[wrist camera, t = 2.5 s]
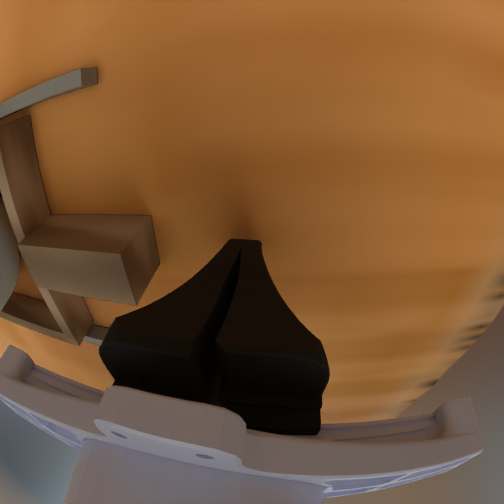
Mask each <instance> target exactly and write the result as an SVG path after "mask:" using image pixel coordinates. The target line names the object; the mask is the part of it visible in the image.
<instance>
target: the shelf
mask: <svg viewBox="0 0 504 504" xmlns="http://www.w3.org/2000/svg"><path fill="white" fill-rule="evenodd" d="M95 84H98V82H97V67H95V68H82V69H78V70H75V71H72V72H69V73H67V74H64V75H61V76H59V77H56V78H54V79H51V80H49V81H46V82H44V83H42V84H39V85H37V86H35V87H33V88H30V89H28V90H26V91H24V92H22V93H20V94H18V95H16V96H14V97H12V98H10V99H8V100H6V101H5V102H3V103H1V104H0V119H2V118H5V117H7V116H9V115H11V114H13V113H15V112H18V111H20V110H22V109H24V108H27V107H29V106H32V105H34V104H37V103H39V102H42V101H45V100H47V99H50V98H53V97H56V96H58V95H61V94H64V93H67V92H71V91H74V90H77V89H80V88H84V87H87V86H91V85H95ZM108 330H109V328H104V327H100V326H95V325H91V327H90V328H89V330H88V332H87V334H86V335H85V337H84V339H83V341H85V342H89V343H92V344H96V345H100V346H101V344H102V342H103V340H104V338H105V336H106V334H107V332H108Z"/></svg>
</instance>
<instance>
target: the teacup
mask: <svg viewBox="0 0 504 504" xmlns="http://www.w3.org/2000/svg"><path fill="white" fill-rule="evenodd" d="M19 271H20V257H19V250H18V242H17V239H16V236H15V234H14V231H13V228H12V225H11V223H10V220H9V217H8V214H7V211H6V208H5V204H4V202H3V200H2V199H1V197H0V312H1V310H2V309H3V307H4V306H5V304H6V302H7V301H8V299H9V297H10V296H11V294H12V292H13V290H14V288H15V286H16V284H17V281H18V277H19Z"/></svg>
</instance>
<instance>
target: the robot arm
mask: <svg viewBox="0 0 504 504" xmlns="http://www.w3.org/2000/svg"><path fill="white" fill-rule="evenodd" d="M261 247H262V243H261V242H260V241H258V240H243V239H230V240H229V241H228V242H227V243H226V244H225V245H224V246H223V248H222V249H221V250H220V251H219V252H218V253H217V254H216V255H215V256H214V257H213V258H212V259H211V260H210V261H209V262H208V264H206V265H205V266H204V267H203V268H202V269H201V270H200V271H199V272H198V273H197V274H196V275H194V276H193V277H192V278H191V279H190V280H188V281H187V282H186V283H184V284H183V285H182V286H180V287H179V288H177V289H176V290H174V291H172V292H171V293H169V294H167V295H166V296H164V297H163V298H161V299H159V300H157V301H155V302H153V303H151V304H149V305H147V306H145V307H143V308H140V309H138V310H135V311H133V312H130V313H128V314H125V315H122V316H119V317H116V319H115V320H114V322H113V323H112V325H111V326H110V328H109V330H108V332H107V334H106V336H105V338H104V340H103V342H102V344H101V346H100V347H99V354H100V357H101V359H102V361H103V363H104V364H105V366H106V367H107V369H108V370H109V372H110V373H111V375H112V376H113V378H114V379H115V381H114V383H113V386H111V387H109V388H107V389H106V390H105V391H102V390H99V389H96V388H93V387H90V386H87V385H84V384H81V383H79V382H76V381H74V380H71V379H68V378H66V377H63V376H61V375H59V374H56V373H54V372H51V371H49V370H47V369H45V368H42V367H40V366H38V365H36V364H34V362H33V360H32V359H31V358H30V356H29V355H28V354H27V353H25V352H24V351H22V350H20V349H18V348H16V347H14V346H12V345H9V346H8V348H7V349H6V351H5V352H4V354H3V356H2V357H1V359H0V399H1V400H2V401H3V402H4V403H6V404H7V405H8V406H9V407H10V408H11V409H12V410H13V411H15V412H16V413H17V414H19V415H20V416H22V417H23V418H25V419H26V420H28V421H29V422H31V423H32V424H34V425H36V426H37V427H39V428H40V429H42V430H44V431H45V432H47V433H49V434H50V435H52V436H54V437H56V438H57V439H59V440H61V441H63V442H65V443H66V444H69V445H70V446H72V447H74V448H76V449H78V450H80V454H79V456H78V459H77V462H76V465H75V468H74V471H73V474H72V477H71V480H70V483H69V487H68V490H67V493H66V496H65V500H64V503H63V504H323V498H326V497H336V496H344V495H352V494H358V493H364V492H370V491H375V490H380V489H385V488H389V487H394V486H398V485H402V484H406V483H410V482H413V481H417V480H420V479H424V478H427V477H430V476H434V475H437V474H440V473H443V472H446V471H448V470H450V469H452V468H454V467H456V466H458V465H460V464H462V463H464V462H465V461H467V460H469V459H471V458H472V457H474V456H476V455H477V454H479V453H481V452H482V451H483V446H482V441H481V436H480V432H479V428H478V424H477V420H476V416H475V413H474V409H473V405H472V402H471V399H470V397H469V396H467V397H463V398H459V399H455V400H450V401H447V402H445V403H443V404H442V405H440V406H439V407H438V408H437V409H436V410H435V412H432V413H428V414H422V415H416V416H410V417H403V418H396V419H388V420H379V421H369V422H356V423H337V424H321V416H320V408H321V407H322V394H323V392H324V390H325V388H326V385H327V383H328V381H329V376H330V372H329V366H328V361H327V357H326V354H325V351H324V348H323V346H322V343H321V341H320V340H319V339H318V338H317V337H315V336H314V335H313V334H312V333H311V332H310V331H309V330H308V329H307V328H306V327H305V326H304V325H303V324H302V323H301V322H300V321H299V320H298V319H297V317H296V316H295V315H294V314H293V312H292V311H291V310H290V309H289V307H288V306H287V305H286V303H285V302H284V300H283V299H282V297H281V296H280V294H279V292H278V291H277V289H276V287H275V285H274V283H273V281H272V279H271V277H270V274H269V272H268V270H267V267H266V264H265V261H264V258H263V254H262V248H261Z"/></svg>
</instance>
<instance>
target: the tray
mask: <svg viewBox="0 0 504 504" xmlns="http://www.w3.org/2000/svg"><path fill="white" fill-rule="evenodd" d="M0 191H1V194H2V198H3V201H4V204H5V208H6V211H7V214H8V217H9V220H10V223H11V225H12V228H13V231H14V234H15V236H16V239H17V242H18V247H19V250H20V252H21V255H22V257H23V259H24V262H25V264H26V266H27V268H28V271H29V273H30V275H31V277H32V279H33V281H34V283H35V285H36V287H38V289H39V291H40V293H41V295H42V296H43V298H44V300H45V301H42V300H38V299H35V298H31V297H27V296H24V295H20V294H17V293H14V292H12V294H11V296H10V297H9V299H8V301H7V302H6V304H5V306H4V307H3V309H2V310H1V312H0V317H2V318H4V319H7V320H9V321H11V322H14V323H16V324H19V325H21V326H24V327H26V328H29V329H31V330H34V331H37V332H39V333H42V334H45V335H48V336H50V337H53V338H56V339H59V340H62V341H65V342H68V343H72V344H75V345H78V346H80V344H81V342H82V341H83V339H84V337H85V335H86V334H87V332H88V330H89V328H90V327H91V325H92V323H93V322H94V321H93V319H92V317H91V315H90V313H89V311H88V308H87V306H86V304H85V302H84V300H83V298H82V296H83V297H88V298H94V299H99V300H105V301H110V302H116V303H122V304H128V305H135V306H137V304H138V302H139V300H140V299H141V297H142V295H143V293H144V291H145V289H146V288H147V286H148V284H149V282H150V280H151V279H152V277H153V275H154V273H155V271H156V270H157V268H158V266H159V265H160V260H159V255H158V251H157V246H156V241H155V235H154V230H153V225H152V219H151V216H146V215H51V213H50V210H49V206H48V203H47V199H46V195H45V191H44V188H43V184H42V179H41V175H40V171H39V166H38V161H37V156H36V151H35V145H34V139H33V133H32V126H31V118H30V115H29V116H26V117H23V118H20V119H18V120H15V121H12V122H10V123H7V124H5V125H2V126H0Z"/></svg>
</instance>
